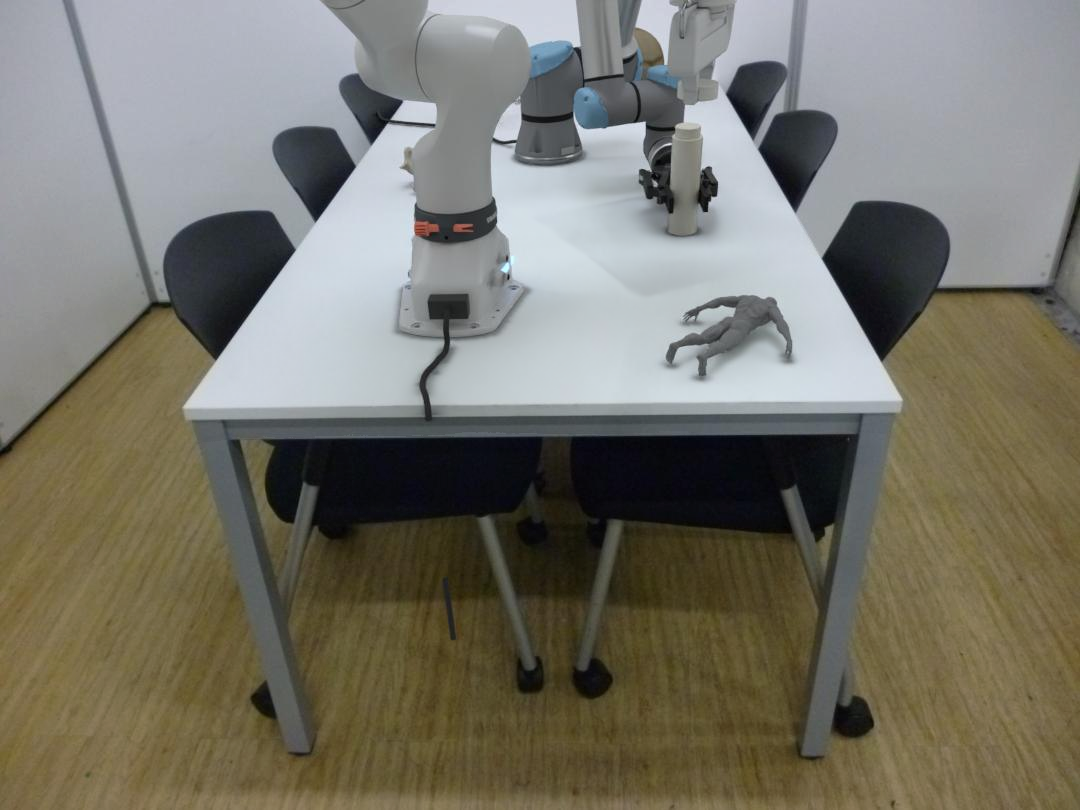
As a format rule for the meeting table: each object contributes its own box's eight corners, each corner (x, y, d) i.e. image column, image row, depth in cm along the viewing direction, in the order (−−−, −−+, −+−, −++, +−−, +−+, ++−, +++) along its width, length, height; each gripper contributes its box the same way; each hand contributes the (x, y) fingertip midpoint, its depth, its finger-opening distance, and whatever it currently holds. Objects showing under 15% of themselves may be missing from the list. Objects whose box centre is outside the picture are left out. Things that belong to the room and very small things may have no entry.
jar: (686, 223, 149) (692, 119, 139) (702, 232, 145) (709, 127, 135) (662, 228, 148) (666, 124, 138) (677, 237, 144) (683, 131, 134)
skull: (629, 73, 244) (653, 2, 221) (655, 132, 236) (683, 64, 214) (578, 80, 240) (598, 7, 217) (603, 139, 232) (626, 71, 210)
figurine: (740, 398, 101) (827, 332, 111) (741, 369, 98) (830, 304, 109) (633, 353, 111) (722, 297, 122) (633, 326, 108) (724, 270, 119)
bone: (420, 170, 164) (410, 138, 170) (401, 193, 168) (392, 160, 173) (460, 189, 171) (449, 158, 177) (441, 211, 175) (432, 179, 180)
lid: (670, 98, 116) (671, 84, 115) (687, 90, 120) (688, 76, 119) (707, 103, 114) (708, 88, 113) (724, 94, 118) (725, 80, 117)
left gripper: (707, 0, 101) (700, 117, 108) (743, -21, 116) (735, 83, 124) (657, -1, 103) (653, 114, 110) (699, -21, 118) (693, 82, 126)
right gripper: (716, 182, 160) (741, 224, 140) (622, 185, 160) (633, 228, 141) (719, 142, 156) (745, 180, 136) (622, 146, 156) (634, 185, 137)
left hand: (697, 98), depth 117 cm, fingers closed on lid, 5 cm apart
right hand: (688, 205), depth 139 cm, fingers closed on jar, 5 cm apart
